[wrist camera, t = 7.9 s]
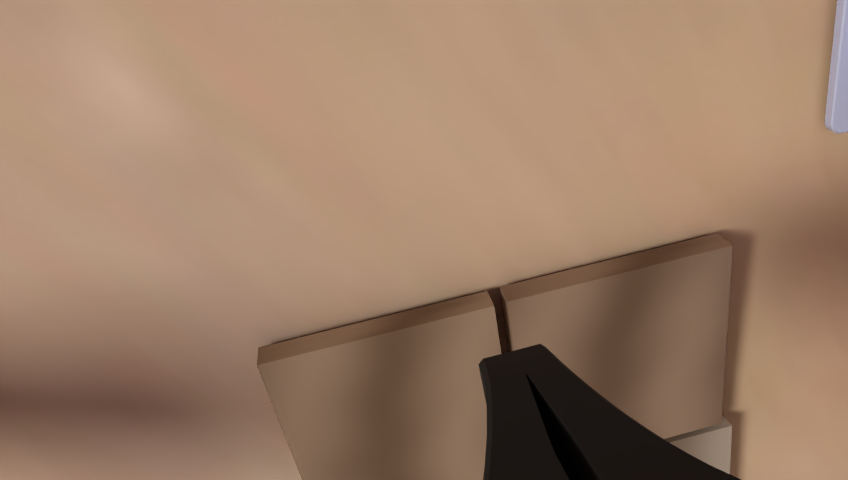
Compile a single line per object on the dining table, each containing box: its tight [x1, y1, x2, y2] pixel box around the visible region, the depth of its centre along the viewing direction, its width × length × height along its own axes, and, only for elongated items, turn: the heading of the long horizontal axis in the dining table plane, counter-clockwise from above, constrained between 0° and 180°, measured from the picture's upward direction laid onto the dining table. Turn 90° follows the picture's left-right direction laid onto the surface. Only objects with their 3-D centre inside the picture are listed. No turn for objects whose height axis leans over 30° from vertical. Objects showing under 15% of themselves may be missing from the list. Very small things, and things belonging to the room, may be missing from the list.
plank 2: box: [500, 233, 733, 439], centre depth 26 cm, size 8×9×1 cm
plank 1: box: [257, 291, 501, 480], centre depth 26 cm, size 8×9×1 cm
